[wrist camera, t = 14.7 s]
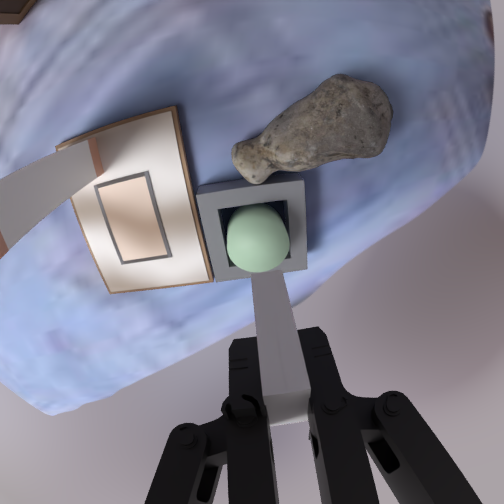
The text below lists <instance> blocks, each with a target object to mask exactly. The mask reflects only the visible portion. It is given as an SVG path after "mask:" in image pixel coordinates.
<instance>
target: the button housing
mask: <svg viewBox="0 0 504 504" xmlns="http://www.w3.org/2000/svg"><path fill="white" fill-rule="evenodd" d="M196 198H197V203H198V207H199V212H200V216H201V221H202V225H203V229H204V234H205V238H206V242H207V247H208V251H209V255H210V259H211V263H212V267H213V271H214V275H215V279H216V282H221V281H228V280H236V279H243V278H250V277H251V274H253V273H261V272H249V271H245V270H243V269H241V268H239V267H238V266H236V265H235V264H234V263H233V262H232V260H231V259H230V257H229V255H228V251H227V239H226V234H225V229H224V224H223V218H222V213H221V209H222V208H229V207H235V206H242V205H249V204H256V203H264V202H271V201H279V200H283V204H284V216H285V229H286V231H287V234H288V237H289V242H290V246H289V251H288V254H287V256H286V257H285V259H284V260H283V261H282V262H281V263H280V264H279V265H278V266H277V267H275V268H273V269H271V270H268V271H275V270H282V273H285V272H292V271H299V270H305V269H307V231H306V206H305V186H304V179H303V178H302V177H301V176H300V175H299V174H298V172H296V173H287V174H278V175H270V176H269V177H268V178H267V179H266V180H265V181H264V182H262V183H260V184H253V183H250V182H248V181H247V180H246V179H240V180H233V181H226V182H220V183H214V184H208V185H202V186H199V188H198V191H197V194H196ZM268 271H265V272H268Z"/></svg>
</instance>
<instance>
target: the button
mask: <svg viewBox="0 0 504 504" xmlns="http://www.w3.org/2000/svg"><path fill="white" fill-rule="evenodd" d="M289 246H290V242H289V237H288V234H287V231H286V229H285V226H284V224H283V221H282V218H281V216H280V215H279V213H278V212H277V211H276V210H275V209H274V208H273V207H271V206H269V205H267V204H264V203H256V204H249V205H243V206H241V207H240V208H238V209H237V210H236V211H235V212H234V213H233V214H232V216H231V217H230V219H229V222H228V231H227V251H228V255H229V257H230V259H231V260H232V262H233V263H234V264H235V265H236V266H238V267H239V268H241V269H243V270H245V271H249V272H265V271H268V270H271V269H273V268H275V267H277V266H278V265H279V264H280V263H281V262H282V261H283V260H284V259H285V257H286V256H287V254H288V251H289Z"/></svg>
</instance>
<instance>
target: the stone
mask: <svg viewBox="0 0 504 504" xmlns="http://www.w3.org/2000/svg"><path fill="white" fill-rule="evenodd" d="M392 117H393V109H392V106H391V104H390V102H389V99H388V97H387V95H386V94H385V92H384V91H383V90H382V89H381V88H380V87H379V86H378V85H376V84H374V83H372V82H366V81H361V80H357V79H354V78H352V77H349V76H347V75H344V74H336V75H334V76H332V77H330V78H329V79H327V80H325V81H324V82H322V83H321V84H320V85H319V87H318V88H317V89H316V90H315V91H313V92H312V93H311V94H309V95H308V96H306V97H305V98H303V99H301V100H299V101H297V102H296V103H294V104H293V105H291V106H290V107H289V108H287V109H286V110H285V111H283V112H282V113H281V114H279V115H278V116H277V117H276V118H274V119H273V120H272V121H271V122H270V123H269V124H268V126H267V127H266V128H265V129H264V131H263V132H262V134H261V135H259V136H258V137H256V138H253V139H250V140H245V141H241V142H238V143H236V144H235V145H234V146H233V148H232V153H231V154H232V161H233V164H234V166H235V167H236V169H237V170H238V171H239V172H240V174H241V175H242V176H243V177H244V178H245V179H246V180H247V181H248V182H250V183H253V184H260V183H262V182H264V181H265V180H266V179H267V178H268V177H269V176H270V175H271V174H272V173H273V172H275V171H278V170H284V171H298V172H300V171H304V170H309V169H312V168H316V167H318V166H320V165H323V164H325V163H328V162H331V161H336V160H340V159H354V158H371V157H375V156H377V155H379V154H380V153H381V152H382V151H383V149H384V148H385V145H386V143H387V140H388V136H389V132H390V127H391V120H392Z"/></svg>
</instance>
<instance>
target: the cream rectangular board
mask: <svg viewBox="0 0 504 504" xmlns="http://www.w3.org/2000/svg"><path fill="white" fill-rule="evenodd" d="M94 137H95V138H96V142H97V146H98V151H99V155H100V159H101V163H102V166H103V170H104V174H102V175H101V176H99V177H98V178H96V179H95V180H93V181H92V182H90V183H89V184H88V185H86V186H85V187H83V188H82V189H81V190H79V191H78V192H77V193H75V194H74V195H72V196H71V197H70V200H71V203H72V206H73V209H74V212H75V214H76V217H77V220H78V223H79V225H80V228H81V230H82V233H83V236H84V238H85V241H86V243H87V245H88V248H89V250H90V253H91V255H92V257H93V259H94V262H95V264H96V266H97V268H98V271H99V273H100V275H101V277H102V279H103V281H104V283H105V285H106V287H107V289H108V291H109V293H110V294H116V293H125V292H135V291H144V290H153V289H161V288H170V287H178V286H186V285H194V284H202V283H210V282H213V281H214V277H213V273H212V269H211V265H210V261H209V257H208V253H207V249H206V244H205V240H204V236H203V232H202V227H201V223H200V219H199V214H198V210H197V205H196V201H195V196H194V192H193V187H192V182H191V177H190V172H189V168H188V163H187V158H186V153H185V147H184V142H183V137H182V132H181V126H180V121H179V115H178V109H177V106H171V107H167V108H163V109H159V110H155V111H152V112H148V113H144V114H141V115H138V116H134V117H131V118H128V119H125V120H121V121H118V122H115V123H112V124H110V125H107V126H104V127H101V128H98V129H96V130H93V131H90V132H88V133H85V134H83V135H80V136H78V137H75V138H73V139H71V140H68V141H66V142H64V143H61V144H59V145H57V146H55V148H56V152H57V151H60V150H62V149H65V148H67V147H70V146H72V145H75V144H77V143H80V142H82V141H85V140H88V139H91V138H94Z"/></svg>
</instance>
